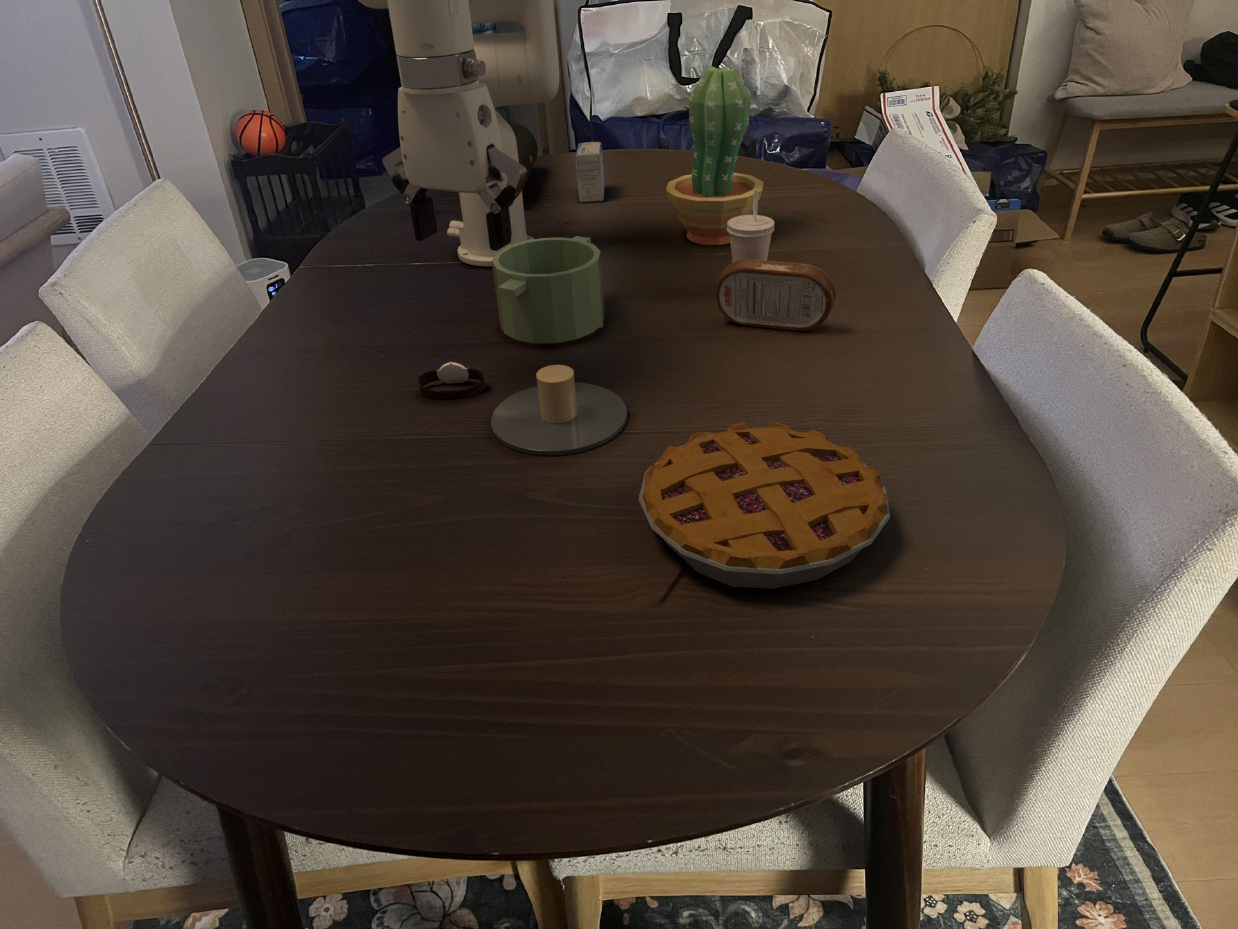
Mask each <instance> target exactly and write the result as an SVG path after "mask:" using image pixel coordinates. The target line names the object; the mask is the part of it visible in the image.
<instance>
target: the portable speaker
mask: <svg viewBox="0 0 1238 929" xmlns="http://www.w3.org/2000/svg"><path fill="white" fill-rule="evenodd" d="M507 123H508V124H509V125H510V127H511V128H512V130H513V132H514V134H515V137H516V142H517V151H518V161H519V164H521V165H522V166H524V167H525V168H526V170H527V174H526V177H525V180H524V183H523V185H522V187H521V189H522V194H523V193H524V190H525V188H526V185H527V181H528V180H529V177H530V176H531V173H532V170H533V168H534V165H535V163H536V161H537V159H538V154H539V153H538V152H539V147H538V143H537V140H536V137H535V136H534V134H533V132H532V131H530V130H529V128H527V127H526V126H525V125H522V124H521V123H517V122H507Z"/></svg>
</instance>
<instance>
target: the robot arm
mask: <svg viewBox="0 0 1238 929" xmlns="http://www.w3.org/2000/svg"><path fill="white" fill-rule="evenodd" d="M357 2H359V3H360V4H362V5H363V6H366V7H368V8H371V9H375V10H376V9H377V10H382V9H384V10H385V9H386V10H387V9H388V13H389V19H390V25H391V31H392V36H393V42H394V48H395V54H396V60H397V66H398V72H399V78H400V84H401V85H400V86H401V87H399V88H398V90H397V123H398V124H397V125H398V136H399V144H400V146H399V147H398V148H396V149H395V150H393V151H391V152H390V153H389V154H387V155H385V156H384V157H383V158H382V164H383V167H384V168H385V169H386V171H387V173H388V175H389V177H390V178H391V183H392V185H393V186H394V187H395V188H396V189H397V190H398V192H400V194H401V196H402V200H403V202H404V203H405V204H407V205H409V211H410V216H411V222H412V228H413V233H414V239H415V240H416V241H418V242H423V241H425V240H426V239H429V237H432V236H434V235H435V234H437V233H438V225H437V224H438V223H437V219H436V213H435V206H434V201H433V198H432V196H427V195H428V193H429V192H430V190H433V191H434V190H435V191H444V192H453V193H458V195H459V202H460V209H461V216H462V221H461V220H453V219H452V220H451V221H450V222H449V225H448V226H449V227H448V228H447V231H446V234H447V237H449V238H458V239H459V242H460V244H459V246H458V247H457V251H456V252H457V257H458V259H459V261H462V263H465V264H467V265H470V266H473V267H483V268H484V267H485V268H486V267H487V268H488V267H490V268H491V267H492V268H493V266H492V260H493V258H494V256H495V254H496V253H497V252H499V251H501V250H502V249H504V248H506V247H507V246H510V245H513V244H516V243H519V242H522V241H527V240H534V239H535V238H534V237H532V236H530V235H528V234H527V228H526V217H525V209H524V208H525V207H524V199H523V193H522V189H521V187H522V185H523V183H524V180H525V177H526V174H527V170H526V168H525V167H524V166H522V165H521V164H519V161H518V151H517V142H516V137H515V134H514V132H513V130H512V128H511V127H510V125H509V124H508V123H509V122H507V121H506V120H505V119H504V117H503V116H502V115H501V114H500V113H499V112H498V111H497V110H496V108H502V107H507V106H522V105H523V106H524V105H536V104H544V103H547V102H550V101H553V99H554V98H555V97H556V96H557V94H558V91H559V88H560V87H559V86H560V64H559V53H558V42H557V32H556V20H555V18H556V17H555V8H554V7H555V6H554V0H357ZM511 22H514V23H518V24H520V25H521V26H522V28H523V29H524V31H516V32H502V33H501V32H500V33H496V32H494V33H493V32H491V33H478V34H473V26H472V25H477V24H478V25H479V24H480V25H481V24H495V23H496V24H497V23H511Z"/></svg>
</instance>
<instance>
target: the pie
mask: <svg viewBox="0 0 1238 929" xmlns="http://www.w3.org/2000/svg"><path fill="white" fill-rule="evenodd" d="M642 478H643V479H642V483H641V488H640V492H639V495H638V502H639V504H640V506H641V508H642V510H643V513H644V515H645V518H646V520H647V522H648V524H649V526H650V528H651V530H653V531H654V532H655V533H656V534H657V535H659V536H660V537H661V538H662V539H663V541H664V542H665V544H666V545H667V547H669V548H670V549H671V550H672V551H673V552H674V553H676V554H677V555H678V556H679V557H680V558H682V560H684V561H685V563H686V564H687V565H688V566H689V567H691V568H692V569H693V570H694V571H695V572H696V573H698V574H700V575H702V576H705V577H707V578H710V579H713V580H714V581H717V582H718V583H722V584H724V585H726V586H729V587H732V588H754V589H777V588H778V589H779V588H783V587H787V586H793V585H798V584H803V583H808V582H813V581H818V580H819V579H821V578H823V577H825V576H827V575H829V574H831V573H833V572H834V571H837V570H838V569H841V568H842V567H844V566H846V565H847V564H850V563H851V562H852V561H853V560H854V559H855V557H856V556H857V555H858V554H859V553H860V551H861V550H862V549H864V548H866V547H868V546H870V545H871V544H873V542H874V541H875V540H876V538H877V537H878V536H879V534H880V532H881V531H882V530H883V528H884V527H885V526H886V524H887V523H888V521H889V520H890V519H891V512H890V504H889V497H888V492H887V488H886V486H885V485H884V484H883V483H882V479H881V476H880V474H879V473H878V471H877V469H876V468H875V466H868V465H867V464H866V463H865V462H864V461H863V458H862V456H861V454H860V453H859V452H858V451H856V450H855V449H853V448H852V447H851V446H849V445H846V446H838V445H836V444H834V443H833V442H831V441H830V439H829V436H828V435H827V434H825V433H822V432H819V431H817V430H814V429H812V430H809V431H805V432H804V431H797V430H793V429H792V428H790V427H789V426H788V425H787V424H783V423H779V422H775V421H770V422H769V423H768V424H767V425H766V426H765V427H751V426H750V425H748V424H746V422H739V423H733V424H730V425H729V426H728V428H727V430H725V431H720V432H708V431H700V432H697V433H692V434H691V435H690V437H689V438H688V440H687V442H686V443H685V444H682V445H680V446H675V445H669V446H668V447H667V448H666V449H665V450H664V452H663V453H661V455H660V457H659V459H658V460H657V461H656V462H655V463H653V464H652V465H649V466H648V467H647V469H646V471H645V472H644V475H643V477H642Z"/></svg>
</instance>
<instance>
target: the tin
mask: <svg viewBox="0 0 1238 929" xmlns="http://www.w3.org/2000/svg"><path fill="white" fill-rule="evenodd" d="M714 298H715V302H716V306H717V307H718V309H719V311H720V313H721V314H722V315H723V316H724V317H725V318H726V319H727V320H729V321H731V322H732V323H735V324H737V325H742V326H747V327H757V328H766V329H775V330H776V329H777V330H784V331H785V330H786V331H795V332H807V331H812V330H814V329H816V328H818V327H819V326H820V325H822V324H824V322H825V321H826V320H827V319H828V317H829V316H830V313H831V311H832V309H833V308H834V305H835V302H836V288H835V285H834V283H833V281H832V279H831V278H830V276H829V275H828V274H827V273H826V272H825V271H824V270H823V269H821V268H819V267H817V266H815V265H812V264H808V263H798V262H787V261H775V260H767V261H766V260H755V259H741V260H738V261H735V262H733V263H732V262H731V263H729V264H728V265H727V266H726V267H725V268H723V269H722V271H721V272H720V275H719V277H718V279H717V283H716V284H715V288H714Z"/></svg>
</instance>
